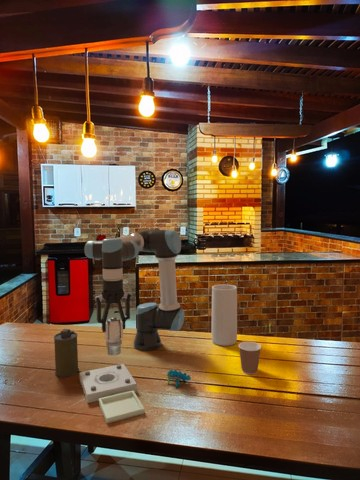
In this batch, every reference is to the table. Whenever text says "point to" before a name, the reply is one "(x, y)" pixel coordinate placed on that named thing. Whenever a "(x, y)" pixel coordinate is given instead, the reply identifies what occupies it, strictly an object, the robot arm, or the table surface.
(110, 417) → the parts tray
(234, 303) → the vase
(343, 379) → the table surface
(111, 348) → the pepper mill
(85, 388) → the bearing plate
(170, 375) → the teal bumpy figure
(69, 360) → the canister
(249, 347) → the coffee cup
